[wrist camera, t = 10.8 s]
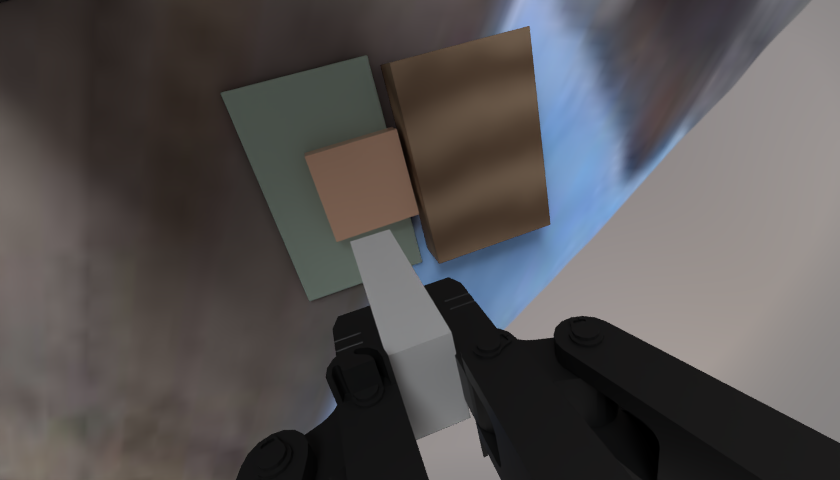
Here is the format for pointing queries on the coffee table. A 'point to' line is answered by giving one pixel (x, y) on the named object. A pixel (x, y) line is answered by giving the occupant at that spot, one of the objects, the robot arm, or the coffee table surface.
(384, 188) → the terracotta tile
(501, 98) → the block
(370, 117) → the sage mat
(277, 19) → the coffee table surface
